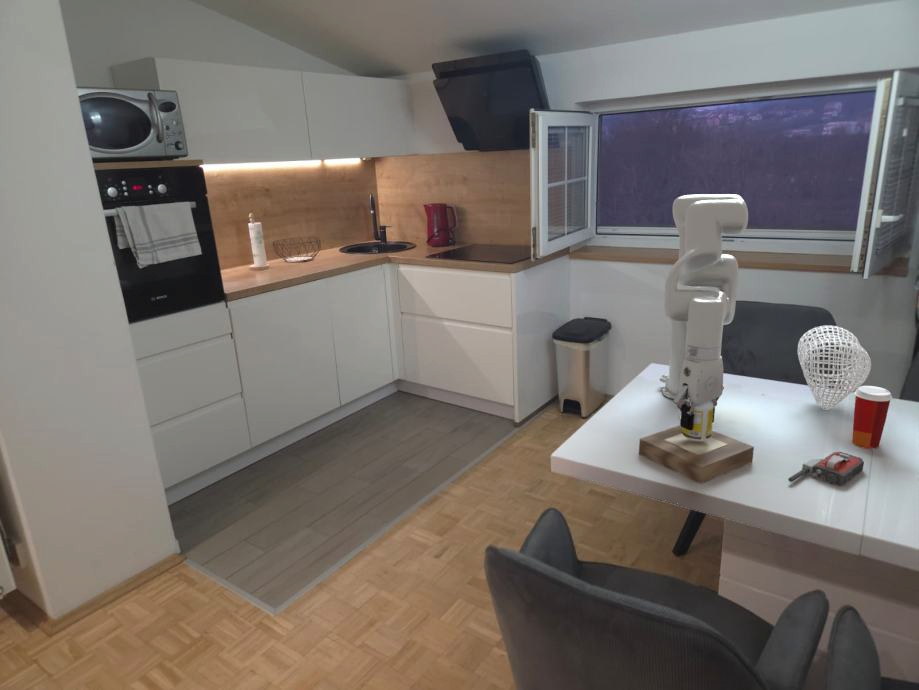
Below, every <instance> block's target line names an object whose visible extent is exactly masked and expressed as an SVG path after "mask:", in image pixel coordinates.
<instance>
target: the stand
mask: <svg viewBox="0 0 919 690" xmlns="http://www.w3.org/2000/svg"><path fill="white" fill-rule="evenodd" d="M638 443H639V444H638V445H639V446H638V454H639V455H640V456H643V458H644V457H645V458H646V459H648V460H651V461H653V462H655V463H656V464H659V465H662V466H663V467H665V468H667V469H670V470H671V471H673V472H675V471H676V473H677V472H678V473H677V474H679V473H680V474H679V475H681V474H682V476H684V477H685V478H688V479H690V480H692V481H694V482H696V483H698V484H703V483H706V482H708V481H711V480H713V479H715V478H718V477H720V476H723V475H726V474H728V473H731V472H733V471H735V470H737V469H740V468H742V467H743V468H744V467H745V466H747V465H749V464H752V463H753V460H754V450H755V446H752V445H750V444H748V443H746V442H743V441H740V440H737V439H735V438H732V437H730V436H727V435H725V434H722V433H720V432H717V431H714V430H712V432H711V437H710V439H708V440H706V441H693V440H689V439H687V438H685V437H684V436H683V434H682V427H681V426H680V424H679V425H677V426H674V427H671V428H668V429H665V430H662V431H659V432H655V433H653V434H649V435H647V436H643V437H640V438H639V442H638Z"/></svg>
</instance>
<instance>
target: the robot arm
mask: <svg viewBox="0 0 919 690" xmlns="http://www.w3.org/2000/svg"><path fill="white" fill-rule="evenodd" d="M672 217H673V221H674V223H675V227H676V230H677V232H678V237H679V249H678V260H677V261H676V262H674V264H673V265H672V267H671V268H670V269H669V271H668V273H667V276H666V279H665V285H664V305H663V306H664V312H665V313H664V314H665V316H666V317H667V319H669V320H670V321H671V336H670V337H671V338H670V353H669V365H668V366H669V367H668V374H666V373H663V374H662V375H661V377H660V378H659V381H660V382H661V383H664V384H665V386H664V387H663V388H662V395H663V396H665V398H668V399H672V400H673V403H674V404H675V405H676V406H677V408H678V410H679V411H680V412H681V413H680V424H679V425H680V426H681V427H683V428H685V429H688V430H693V423H694V414H692V412H693V409H694V407H695V404H700V403H703V402H707V401H710V400H711V401H712V402H713V405H714V408H713V420H712V424H713V423H714V422H715V415H716V414H715V411H716V407H717V406H718V400H719V399H720V397H721V396H722V395H723V391H724V389H725V388H724V387H725V386H724V363H723V356H722V354H721V353H722V343H723V342H722V340H723V331H724V326H725V325H729V324H730V323H732V322H733V320H734V318H735V313H736V304H737V303H736V302H737V292H738V284H739V283H738V280H739V263H738V260H737V258H736V257H735V256H733V255H731V254H727V253H723V244H722V243H723V241H722V240H723V239H722V238H723V236H722V235H740V234H743V233H744V232H745V231H746V229H747V227H748V222H749V211H748V206H747V203H746V201H745V200H744V199H743V197H742V196H741V195H739V194H735V193H734V194H730V193H726V194H722V193H721V194H719V193H718V194H717V193H716V194H708V193H706V194H705V193H703V194H686V195H681V196H678V197H676V198H675V200H674V201H673V203H672ZM678 283H679V284H680V286H683V287H686V288H695V289H678ZM696 288H698V289H696ZM699 288H701V289H699ZM702 288H704V289H702ZM706 288H707V290H705V289H706ZM709 289H711V290H709ZM712 289H713V290H712ZM714 289H718V290H714ZM688 398H689V399H690V400H689V399H688ZM687 402H689V403H690V405H689V408H688V406H687V405H686V404H687Z"/></svg>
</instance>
